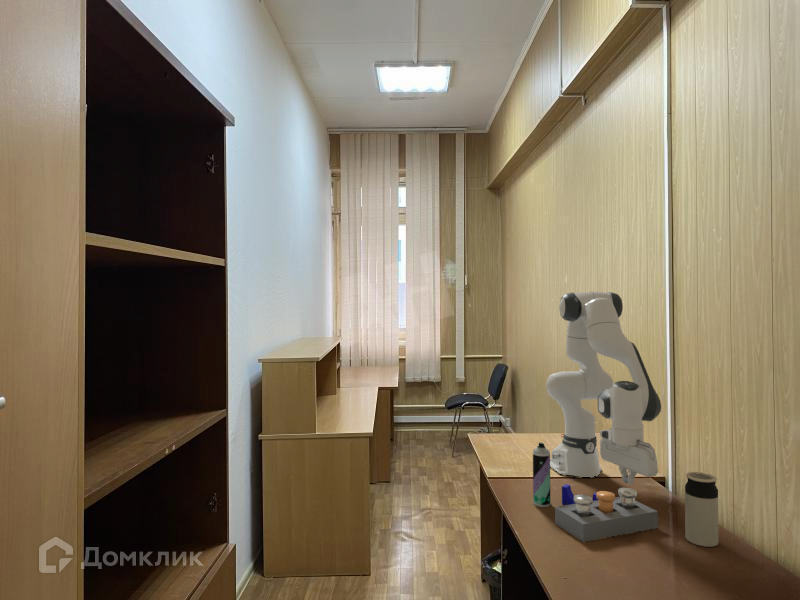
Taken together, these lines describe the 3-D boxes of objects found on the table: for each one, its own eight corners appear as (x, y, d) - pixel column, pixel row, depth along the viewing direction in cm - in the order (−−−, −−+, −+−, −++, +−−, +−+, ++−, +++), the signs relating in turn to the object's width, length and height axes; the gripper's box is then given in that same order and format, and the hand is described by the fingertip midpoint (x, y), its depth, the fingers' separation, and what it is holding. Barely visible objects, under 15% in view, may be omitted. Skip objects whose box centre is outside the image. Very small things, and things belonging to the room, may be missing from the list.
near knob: (570, 516, 157) (569, 495, 157) (584, 513, 159) (584, 493, 159) (581, 523, 152) (581, 502, 152) (596, 520, 154) (596, 499, 154)
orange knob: (592, 512, 160) (592, 492, 160) (607, 510, 162) (606, 490, 162) (604, 519, 155) (604, 498, 155) (619, 516, 157) (619, 496, 157)
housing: (555, 523, 160) (555, 507, 160) (625, 511, 169) (625, 495, 169) (583, 542, 148) (583, 524, 148) (657, 528, 156) (657, 511, 156)
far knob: (614, 508, 163) (614, 489, 163) (628, 506, 164) (628, 486, 164) (626, 515, 158) (626, 494, 158) (641, 512, 159) (640, 492, 159)
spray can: (529, 502, 177) (529, 441, 177) (543, 499, 179) (542, 440, 179) (540, 508, 172) (539, 446, 172) (554, 505, 174) (553, 444, 174)
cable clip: (603, 510, 170) (603, 491, 170) (597, 514, 167) (597, 495, 167) (568, 500, 179) (568, 482, 179) (562, 504, 175) (561, 486, 175)
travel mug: (714, 550, 143) (714, 483, 142) (681, 541, 148) (681, 476, 148) (721, 540, 148) (721, 475, 148) (689, 532, 154) (689, 469, 154)
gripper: (663, 443, 152) (663, 492, 152) (612, 428, 171) (613, 471, 171) (645, 446, 150) (646, 495, 150) (596, 430, 169) (596, 474, 169)
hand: (628, 482), depth 161 cm, fingers closed
